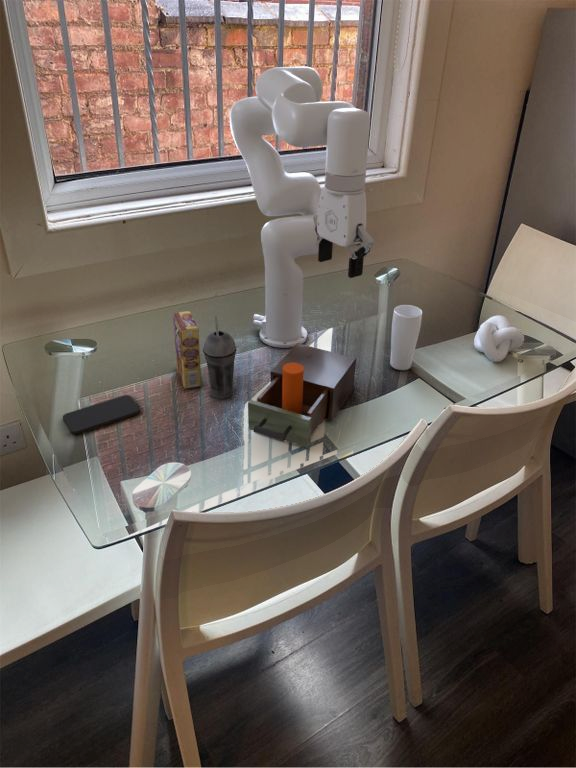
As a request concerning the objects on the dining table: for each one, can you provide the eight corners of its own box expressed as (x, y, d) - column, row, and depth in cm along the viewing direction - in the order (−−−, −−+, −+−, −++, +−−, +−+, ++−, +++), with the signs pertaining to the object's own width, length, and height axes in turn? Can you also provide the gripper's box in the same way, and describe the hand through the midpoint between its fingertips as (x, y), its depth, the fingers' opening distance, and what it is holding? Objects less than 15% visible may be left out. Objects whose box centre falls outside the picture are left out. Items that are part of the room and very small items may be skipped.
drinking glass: (414, 374, 145) (422, 319, 136) (385, 371, 146) (392, 315, 138) (414, 360, 150) (423, 306, 142) (387, 357, 151) (394, 303, 143)
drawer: (299, 460, 117) (299, 432, 113) (238, 440, 121) (237, 413, 118) (331, 414, 129) (333, 388, 126) (275, 398, 134) (275, 372, 130)
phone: (141, 410, 130) (71, 433, 122) (142, 413, 130) (72, 436, 123) (128, 393, 135) (60, 414, 127) (129, 396, 135) (61, 418, 128)
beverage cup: (243, 387, 139) (240, 309, 128) (230, 405, 133) (226, 325, 122) (214, 381, 141) (209, 304, 130) (200, 398, 135) (194, 319, 124)
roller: (278, 418, 126) (279, 370, 119) (287, 408, 129) (288, 360, 122) (296, 424, 125) (298, 375, 118) (305, 413, 128) (307, 365, 121)
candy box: (203, 386, 139) (199, 328, 131) (184, 389, 138) (179, 331, 129) (194, 366, 146) (190, 310, 138) (177, 369, 145) (171, 312, 136)
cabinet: (331, 421, 129) (333, 388, 124) (270, 403, 134) (270, 371, 129) (353, 389, 139) (356, 358, 134) (296, 374, 144) (296, 343, 139)
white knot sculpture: (459, 344, 157) (465, 314, 152) (498, 338, 160) (505, 308, 155) (483, 366, 148) (491, 335, 143) (524, 359, 151) (533, 328, 146)
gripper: (301, 174, 116) (299, 258, 126) (359, 195, 104) (352, 287, 114) (332, 169, 120) (328, 251, 129) (391, 189, 108) (382, 278, 117)
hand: (339, 268), depth 122 cm, fingers open, 9 cm apart
